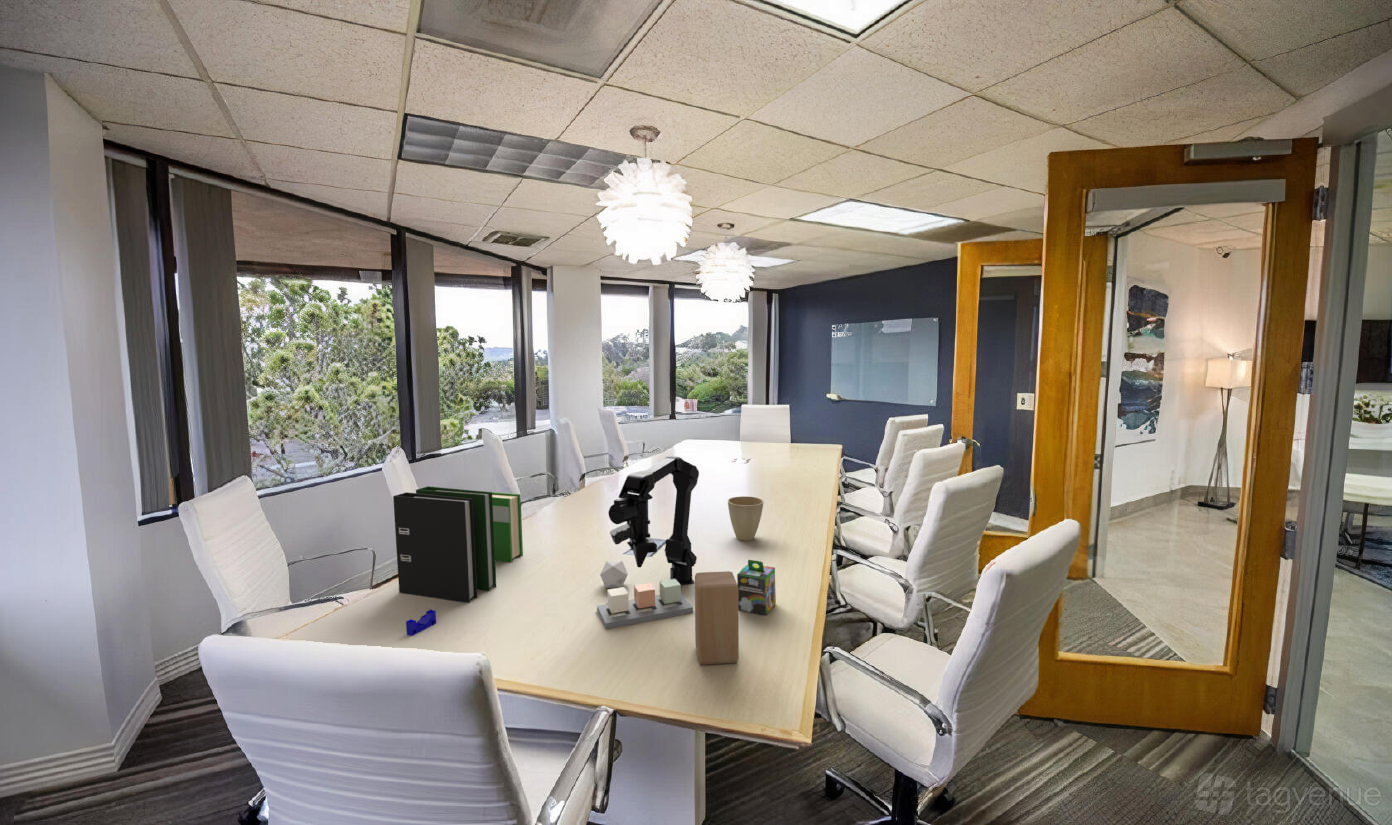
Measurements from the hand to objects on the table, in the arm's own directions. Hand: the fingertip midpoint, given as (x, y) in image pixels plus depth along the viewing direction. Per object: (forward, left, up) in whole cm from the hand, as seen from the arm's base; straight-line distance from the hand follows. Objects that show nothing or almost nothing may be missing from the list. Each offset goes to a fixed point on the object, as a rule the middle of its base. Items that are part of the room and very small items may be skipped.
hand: (639, 566), depth 166 cm
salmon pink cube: (0, +4, -10) cm, 11 cm away
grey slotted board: (0, +4, -12) cm, 13 cm away
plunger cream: (+8, +4, -10) cm, 13 cm away
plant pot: (-58, -45, -13) cm, 75 cm away
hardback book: (+39, -63, -13) cm, 75 cm away
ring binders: (+55, -36, -13) cm, 67 cm away
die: (+4, -18, -13) cm, 22 cm away
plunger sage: (-8, +4, -10) cm, 14 cm away
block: (-10, +34, -13) cm, 38 cm away
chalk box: (-32, +14, -13) cm, 37 cm away
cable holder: (+61, -11, -13) cm, 63 cm away
